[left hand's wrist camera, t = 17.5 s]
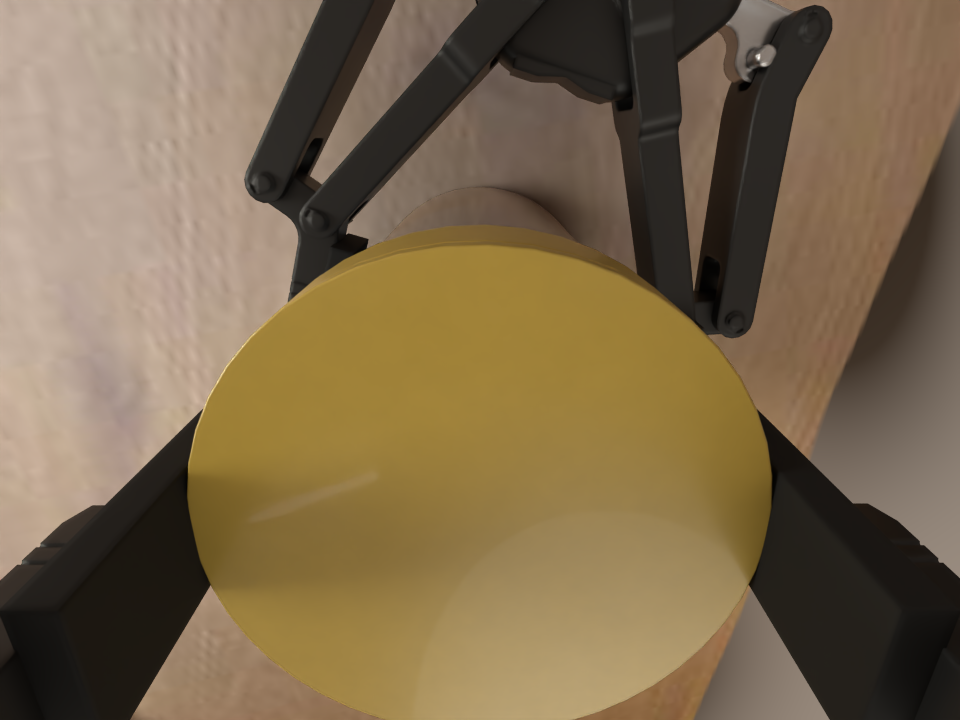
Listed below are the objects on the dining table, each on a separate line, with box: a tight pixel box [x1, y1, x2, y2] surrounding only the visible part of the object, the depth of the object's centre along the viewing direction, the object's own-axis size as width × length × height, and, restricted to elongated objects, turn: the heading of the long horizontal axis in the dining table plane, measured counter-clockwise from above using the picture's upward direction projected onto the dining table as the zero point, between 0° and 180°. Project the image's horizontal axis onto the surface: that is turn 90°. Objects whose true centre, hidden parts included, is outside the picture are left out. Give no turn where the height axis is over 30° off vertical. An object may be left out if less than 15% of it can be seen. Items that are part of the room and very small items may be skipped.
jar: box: [383, 187, 578, 243], centre depth 19 cm, size 10×10×17 cm
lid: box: [187, 225, 772, 720], centre depth 12 cm, size 11×11×2 cm
